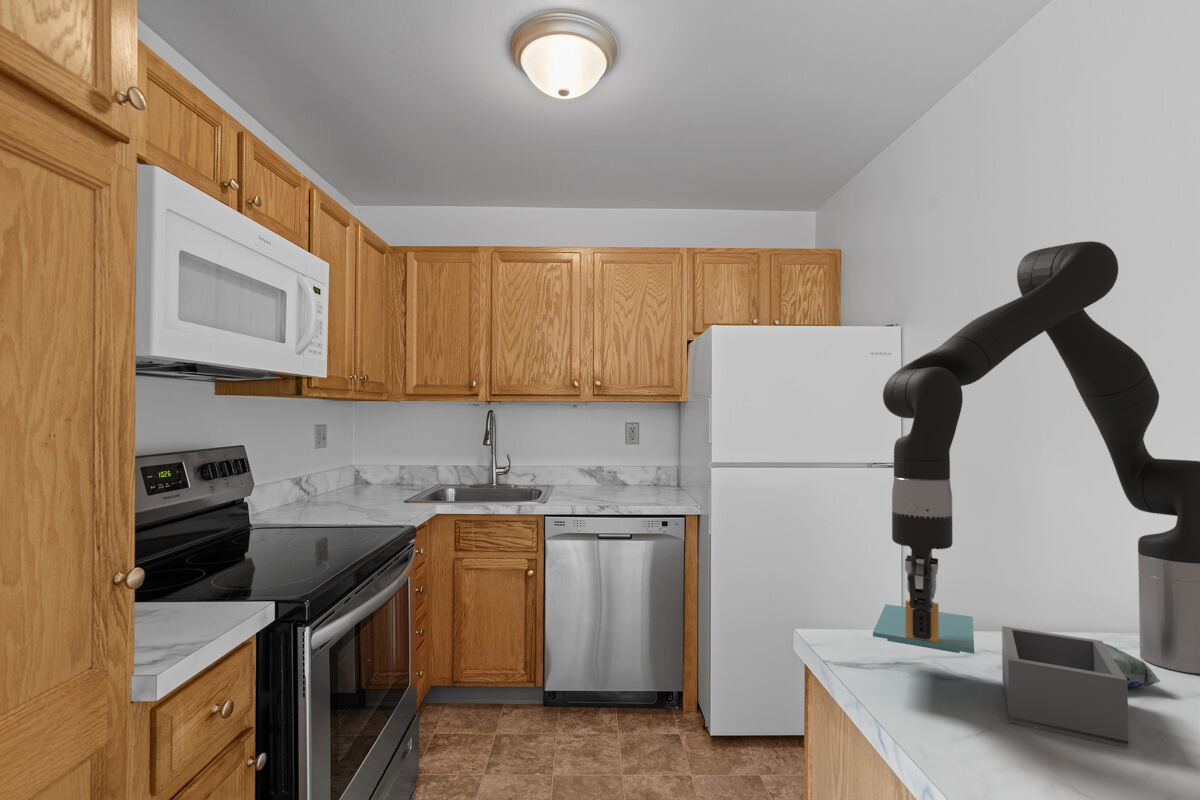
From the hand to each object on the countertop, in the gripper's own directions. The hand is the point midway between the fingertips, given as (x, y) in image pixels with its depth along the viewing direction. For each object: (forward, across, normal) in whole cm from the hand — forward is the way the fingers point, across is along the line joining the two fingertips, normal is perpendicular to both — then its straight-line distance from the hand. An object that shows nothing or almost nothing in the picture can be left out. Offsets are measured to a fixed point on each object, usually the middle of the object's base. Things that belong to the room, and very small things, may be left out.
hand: (922, 635), depth 87 cm
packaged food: (+10, +24, -23) cm, 35 cm away
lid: (+1, +7, 0) cm, 7 cm away
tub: (+9, +7, -16) cm, 20 cm away
